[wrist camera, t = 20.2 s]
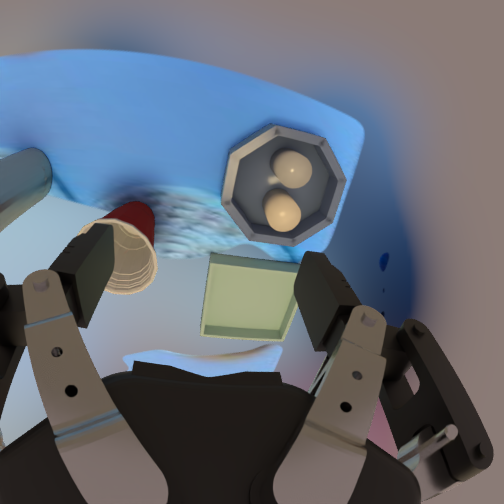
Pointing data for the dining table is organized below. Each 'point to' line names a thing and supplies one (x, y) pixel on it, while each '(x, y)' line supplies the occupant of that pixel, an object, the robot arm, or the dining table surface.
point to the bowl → (263, 180)
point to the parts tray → (248, 298)
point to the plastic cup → (131, 247)
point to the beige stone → (281, 210)
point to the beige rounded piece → (290, 167)
